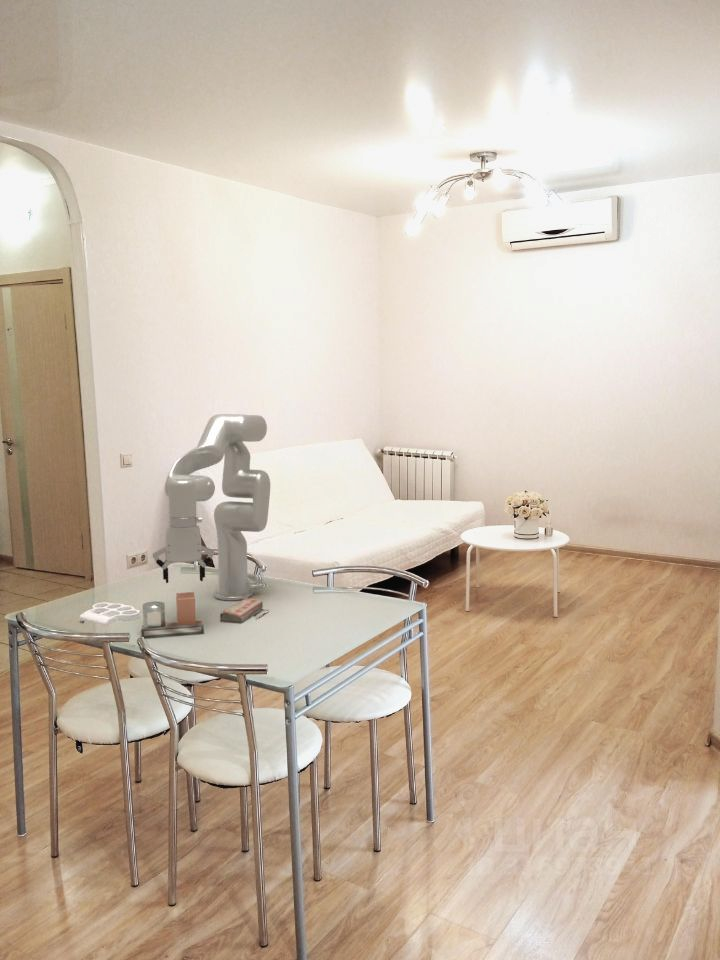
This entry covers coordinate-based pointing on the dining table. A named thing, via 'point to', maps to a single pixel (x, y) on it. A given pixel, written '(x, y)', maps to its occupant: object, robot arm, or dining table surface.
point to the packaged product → (243, 611)
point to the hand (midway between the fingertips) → (184, 580)
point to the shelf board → (173, 630)
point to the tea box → (185, 609)
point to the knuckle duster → (110, 613)
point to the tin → (153, 614)
